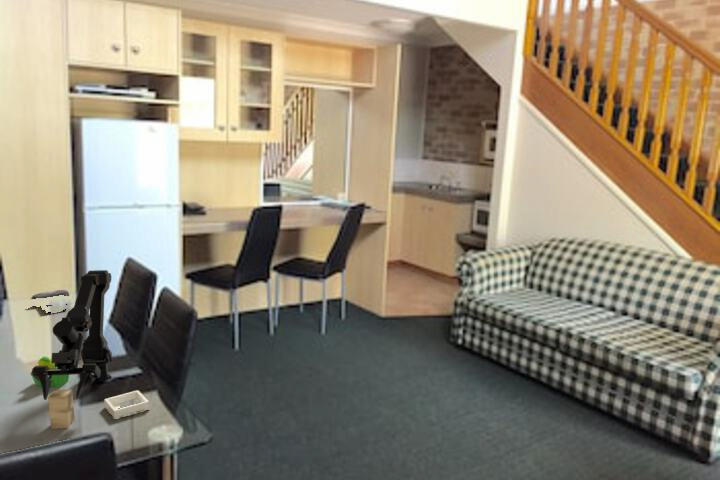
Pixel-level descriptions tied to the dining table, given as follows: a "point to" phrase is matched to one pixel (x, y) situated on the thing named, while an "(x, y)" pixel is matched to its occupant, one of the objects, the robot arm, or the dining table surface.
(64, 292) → the glasses case
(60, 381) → the fruit basket
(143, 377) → the dining table surface
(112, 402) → the tray
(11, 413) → the dining table surface
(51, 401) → the light brown tall block
